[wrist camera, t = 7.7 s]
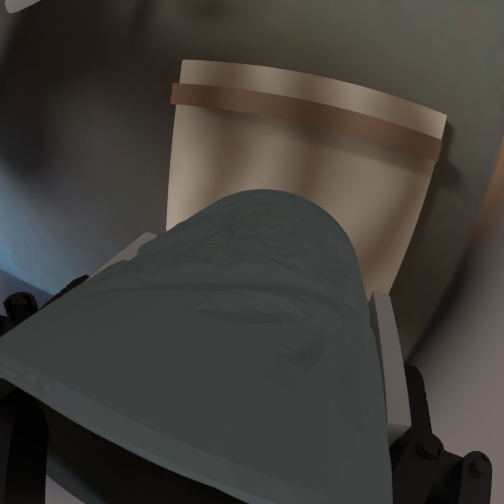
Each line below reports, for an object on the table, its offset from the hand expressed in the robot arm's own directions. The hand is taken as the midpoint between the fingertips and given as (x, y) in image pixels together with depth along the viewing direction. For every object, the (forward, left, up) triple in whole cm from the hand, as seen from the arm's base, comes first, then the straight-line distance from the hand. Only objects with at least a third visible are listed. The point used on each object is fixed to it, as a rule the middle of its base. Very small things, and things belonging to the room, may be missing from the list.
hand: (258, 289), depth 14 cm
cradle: (0, 0, -13) cm, 13 cm away
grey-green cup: (0, 0, -2) cm, 2 cm away
